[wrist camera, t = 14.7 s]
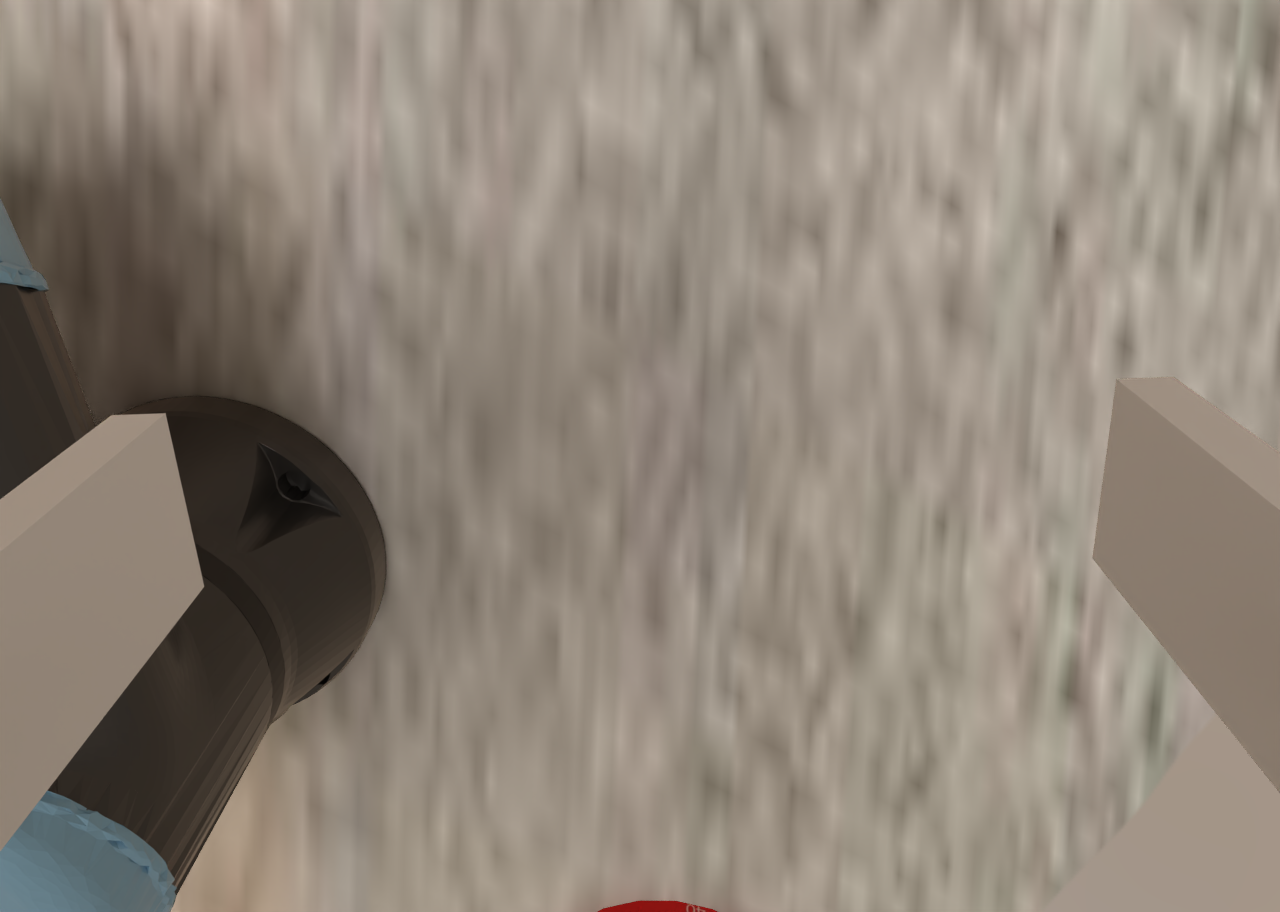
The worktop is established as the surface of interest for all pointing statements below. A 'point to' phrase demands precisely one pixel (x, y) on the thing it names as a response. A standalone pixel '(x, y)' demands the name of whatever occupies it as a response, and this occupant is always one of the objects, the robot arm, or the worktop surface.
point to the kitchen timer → (656, 907)
